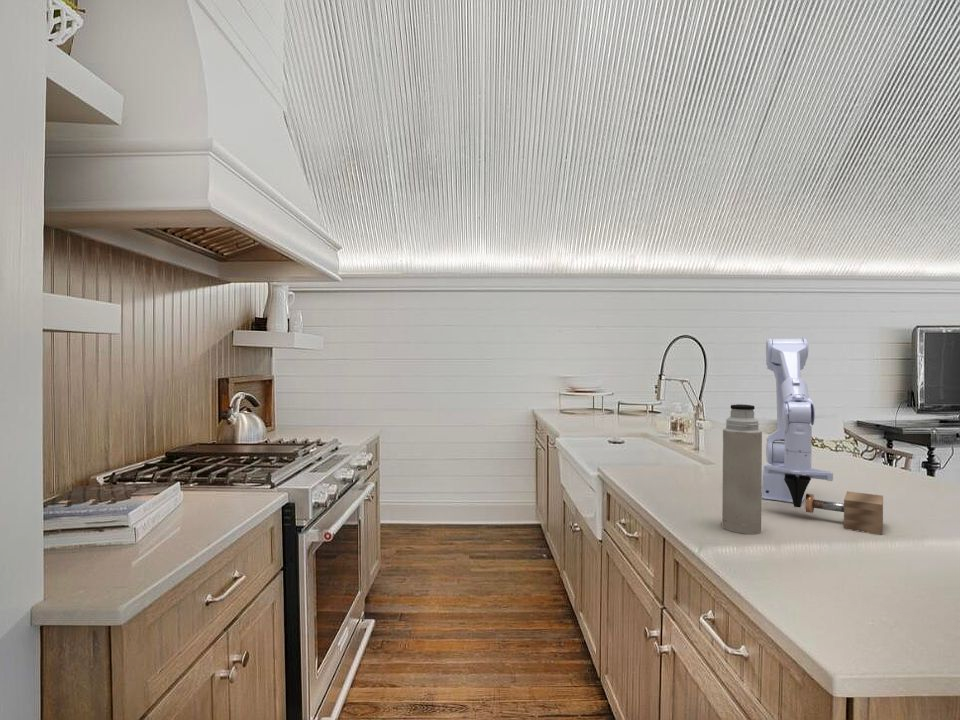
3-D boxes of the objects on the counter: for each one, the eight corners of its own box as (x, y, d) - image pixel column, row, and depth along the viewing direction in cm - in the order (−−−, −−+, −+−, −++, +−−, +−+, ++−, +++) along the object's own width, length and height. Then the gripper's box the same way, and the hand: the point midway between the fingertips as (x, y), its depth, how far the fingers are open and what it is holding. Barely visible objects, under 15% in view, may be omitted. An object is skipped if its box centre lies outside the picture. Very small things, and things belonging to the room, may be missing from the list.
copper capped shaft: (805, 513, 133) (805, 495, 133) (807, 509, 136) (807, 491, 136) (863, 522, 126) (863, 503, 126) (864, 518, 129) (864, 499, 129)
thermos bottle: (720, 521, 131) (721, 402, 130) (758, 525, 128) (759, 403, 128) (723, 531, 123) (724, 405, 123) (763, 535, 120) (764, 406, 120)
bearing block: (843, 528, 126) (844, 499, 126) (846, 518, 134) (847, 491, 134) (882, 534, 121) (882, 504, 121) (882, 523, 129) (883, 495, 129)
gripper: (761, 449, 137) (761, 504, 137) (831, 456, 128) (830, 515, 128) (767, 446, 142) (766, 499, 142) (834, 452, 134) (833, 508, 134)
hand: (797, 506), depth 136 cm, fingers closed
